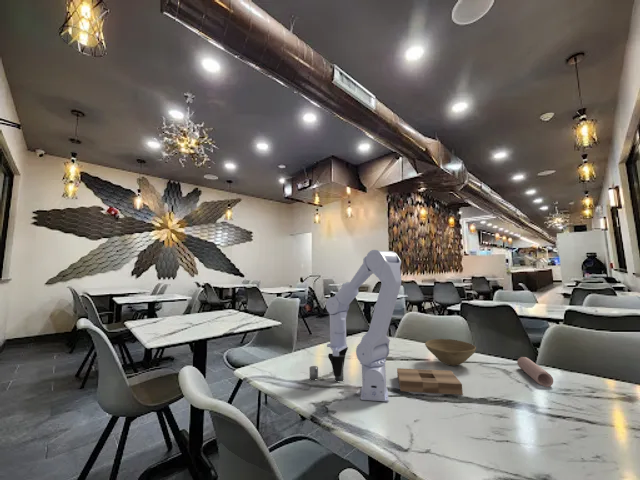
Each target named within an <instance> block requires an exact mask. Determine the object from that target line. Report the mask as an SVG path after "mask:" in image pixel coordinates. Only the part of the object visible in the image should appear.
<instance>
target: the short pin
mask: <svg viewBox="0 0 640 480" xmlns="http://www.w3.org/2000/svg"><path fill="white" fill-rule="evenodd" d="M310 379H311V380H315V379H318V380H319V367H318V365H317V366H316V365H312V366H309V380H310ZM311 380H310V381H311Z"/></svg>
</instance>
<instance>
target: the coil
mask: <svg viewBox="0 0 640 480" xmlns="http://www.w3.org/2000/svg"><path fill="white" fill-rule="evenodd" d="M516 364H517V366H518V367H519V368H520V369H521V370H522V371H523V372H525V374H527V375H528V376H529V377H530V378H531V379H533V381H534V382H536V383H537V384H538V385H540V386H544V387H545V388H549V387H551V386H553V384H554V378H553V376H552V374H551V373H549V372H548V371H546V370H545V369H544V368H542V367H541V366H539V364H536V363H535V362H534V361H533V360H531V359H530V358H529V357H526V356H520V357H519V358H518V359H517V361H516Z"/></svg>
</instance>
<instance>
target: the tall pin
mask: <svg viewBox="0 0 640 480" xmlns="http://www.w3.org/2000/svg"><path fill="white" fill-rule="evenodd" d="M344 378H345V377H344V367H343V364H342V372H341V376H340V377H338V376H334V381H335V380H336V381H343V380H344V381H345V379H344ZM336 381H335V382H336ZM344 381H343V382H344Z"/></svg>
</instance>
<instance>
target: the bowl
mask: <svg viewBox="0 0 640 480" xmlns="http://www.w3.org/2000/svg"><path fill="white" fill-rule="evenodd" d="M424 345H425V348H426V349H427V350H428V351H429V352H430V353H431V354H432V355H433V356H434V357H435V358H437V360H438V361H440V362H441V363H443V364H444V365H448V366H453V367H455V366H460V365H462V364H463V363H465V362H466V361H467V360H468V359H470V357H472V356H473V355H474V353H476V350H477V347H476V345H474V344H471V343H470V342H466V341H462V340H458V339H450V338H445V339H444V338H434V339H429V340H426V341H425V343H424Z"/></svg>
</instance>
